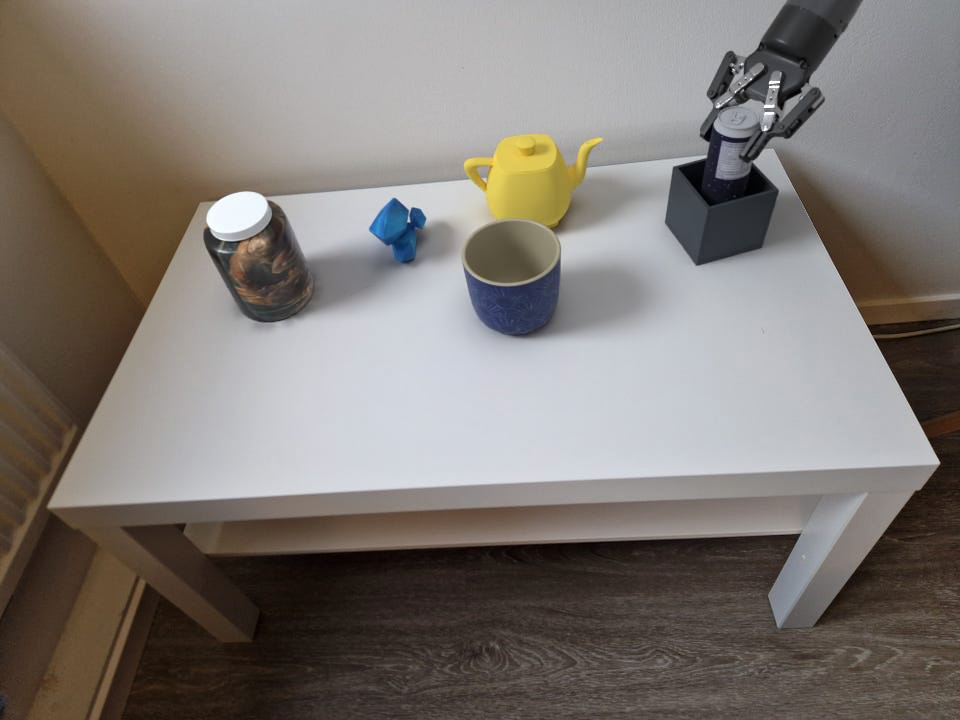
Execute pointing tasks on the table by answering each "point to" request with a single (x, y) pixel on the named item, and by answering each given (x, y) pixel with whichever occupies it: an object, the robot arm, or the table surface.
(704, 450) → the table surface
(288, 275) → the jar
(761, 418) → the table surface
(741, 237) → the trash bin
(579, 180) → the teapot
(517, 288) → the planter
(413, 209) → the crystal
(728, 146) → the beverage can
